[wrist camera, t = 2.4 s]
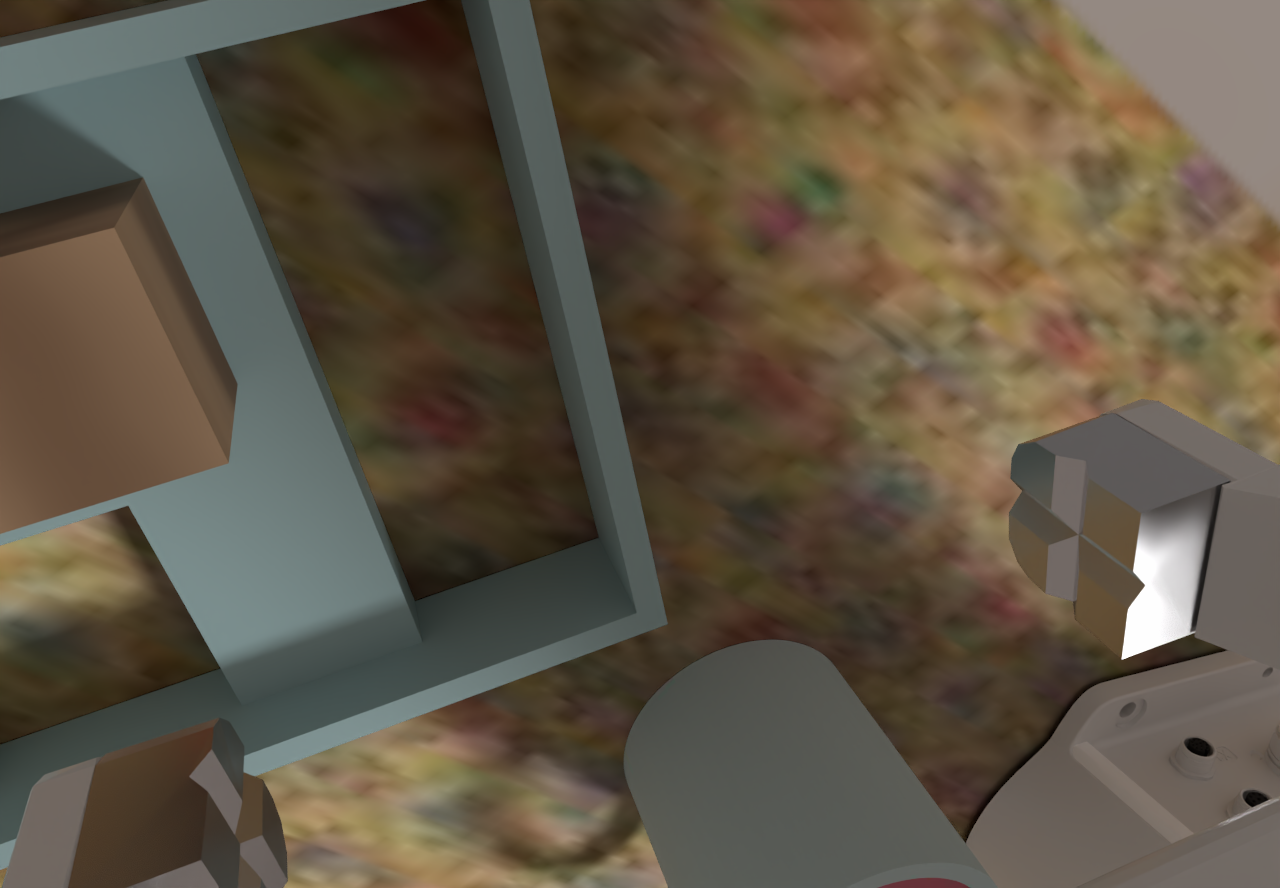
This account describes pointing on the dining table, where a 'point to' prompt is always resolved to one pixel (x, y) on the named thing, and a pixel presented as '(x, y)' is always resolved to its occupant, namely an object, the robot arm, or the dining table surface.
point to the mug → (783, 782)
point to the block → (102, 357)
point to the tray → (311, 411)
